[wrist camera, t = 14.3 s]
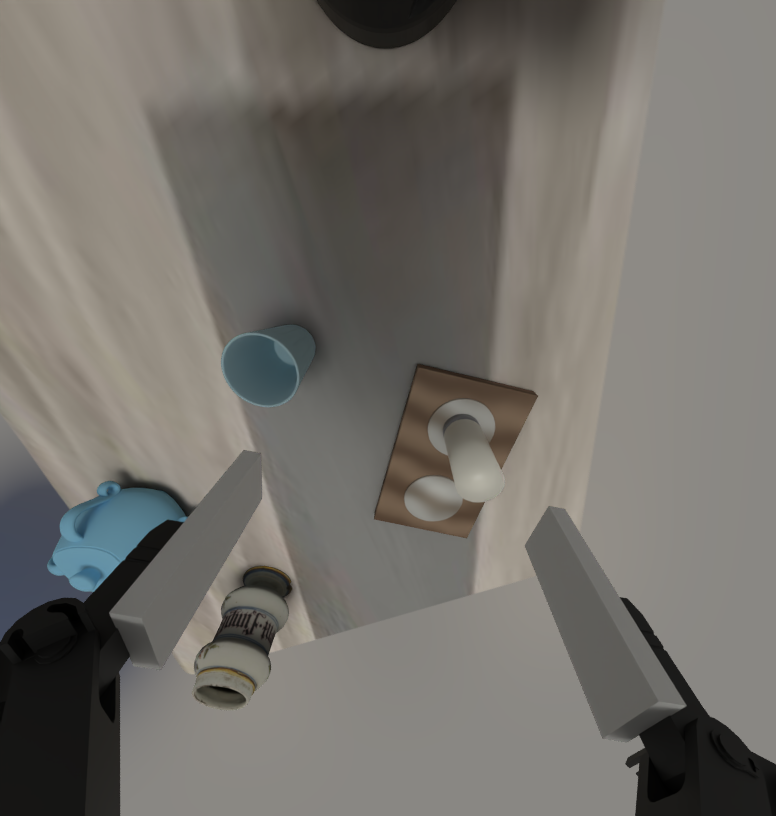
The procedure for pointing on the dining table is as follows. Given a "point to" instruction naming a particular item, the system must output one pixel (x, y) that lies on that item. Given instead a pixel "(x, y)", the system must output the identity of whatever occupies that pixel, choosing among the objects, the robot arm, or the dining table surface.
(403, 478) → the seat board
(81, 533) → the decorative pot
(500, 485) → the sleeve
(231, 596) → the apothecary jar
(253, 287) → the dining table surface
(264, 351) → the cup
